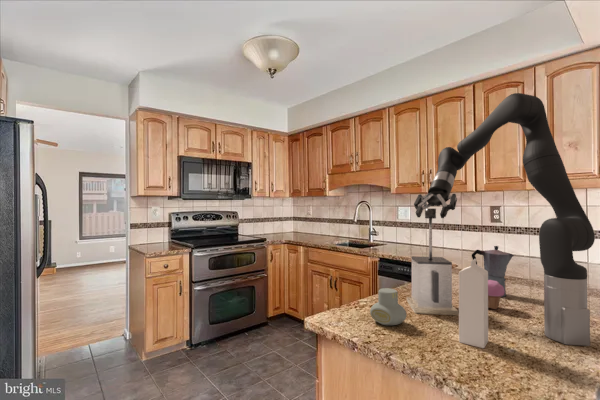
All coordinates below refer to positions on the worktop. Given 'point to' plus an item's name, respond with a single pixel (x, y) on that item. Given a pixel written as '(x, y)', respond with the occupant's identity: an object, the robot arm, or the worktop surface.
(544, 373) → the worktop surface
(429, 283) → the arcade joystick
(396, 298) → the air freshener
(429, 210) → the joystick lever
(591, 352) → the worktop surface
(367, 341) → the worktop surface
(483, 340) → the milk
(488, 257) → the moka pot
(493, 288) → the cupcake
